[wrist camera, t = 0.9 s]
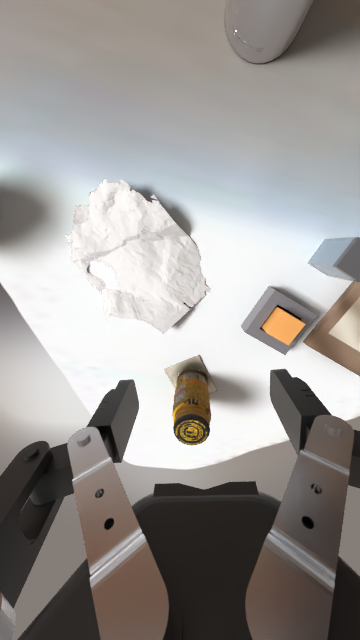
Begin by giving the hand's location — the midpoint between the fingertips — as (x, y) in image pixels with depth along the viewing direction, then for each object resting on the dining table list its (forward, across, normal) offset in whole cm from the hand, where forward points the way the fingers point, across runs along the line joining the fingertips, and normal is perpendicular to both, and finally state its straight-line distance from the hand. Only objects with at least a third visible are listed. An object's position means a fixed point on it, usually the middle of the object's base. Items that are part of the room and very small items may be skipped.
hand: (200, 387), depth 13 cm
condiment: (+26, +3, +17) cm, 31 cm away
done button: (+24, -13, +6) cm, 28 cm away
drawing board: (+26, -27, +8) cm, 38 cm away
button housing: (+26, -13, +6) cm, 29 cm away
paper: (+26, +9, -5) cm, 28 cm away
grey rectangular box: (+26, -21, -3) cm, 33 cm away
